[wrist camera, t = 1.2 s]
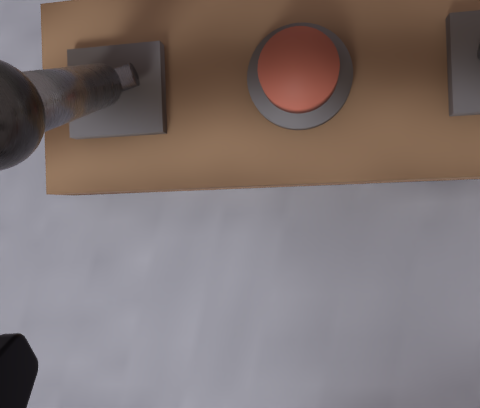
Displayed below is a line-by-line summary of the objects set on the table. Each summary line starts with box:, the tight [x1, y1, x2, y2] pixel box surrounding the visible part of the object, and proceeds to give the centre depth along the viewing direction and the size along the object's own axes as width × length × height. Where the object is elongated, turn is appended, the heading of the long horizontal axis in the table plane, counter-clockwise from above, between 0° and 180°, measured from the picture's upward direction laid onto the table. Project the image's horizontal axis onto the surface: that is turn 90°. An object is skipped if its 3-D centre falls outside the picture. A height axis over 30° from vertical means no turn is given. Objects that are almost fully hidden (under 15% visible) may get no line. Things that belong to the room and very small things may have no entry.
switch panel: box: [41, 0, 480, 195], centre depth 20 cm, size 9×24×4 cm, turn 92°
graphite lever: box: [0, 60, 140, 170], centre depth 15 cm, size 3×3×11 cm
